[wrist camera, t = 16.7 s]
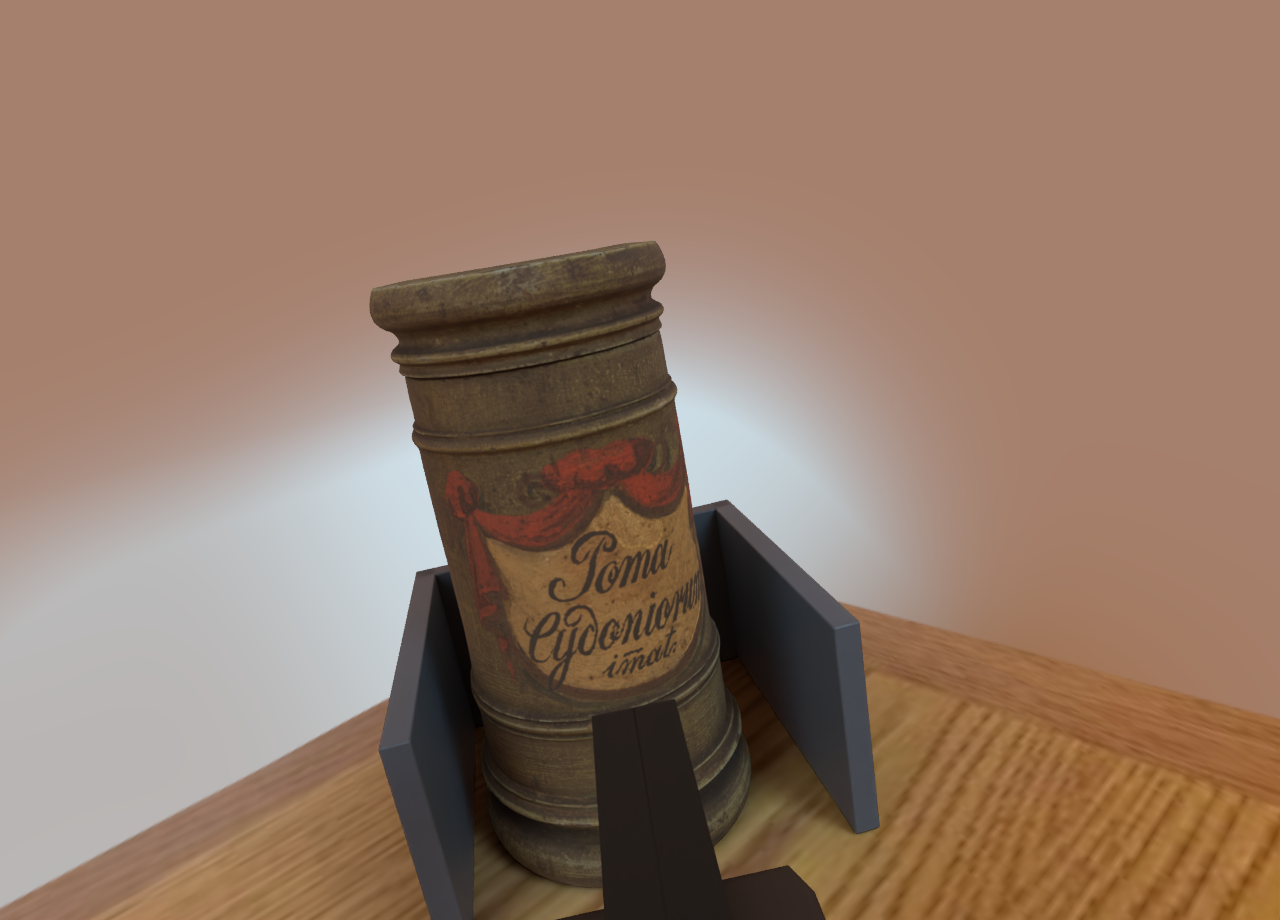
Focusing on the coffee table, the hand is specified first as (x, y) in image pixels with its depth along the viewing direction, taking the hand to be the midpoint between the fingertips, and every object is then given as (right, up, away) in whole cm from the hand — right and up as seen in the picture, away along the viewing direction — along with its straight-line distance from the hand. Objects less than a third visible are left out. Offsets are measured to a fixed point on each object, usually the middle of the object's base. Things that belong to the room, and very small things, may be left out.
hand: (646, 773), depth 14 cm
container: (-1, -6, +13) cm, 14 cm away
